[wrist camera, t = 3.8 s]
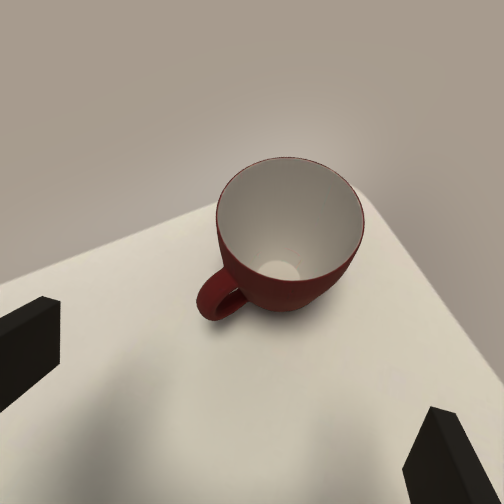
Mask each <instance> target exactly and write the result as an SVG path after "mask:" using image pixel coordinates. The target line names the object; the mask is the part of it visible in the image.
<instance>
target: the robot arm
mask: <svg viewBox="0 0 504 504" xmlns="http://www.w3.org/2000/svg"><path fill="white" fill-rule="evenodd" d="M60 303H61V301H58V300H54V299H51V298H47V297H44V296H41V297H39V298H37V299H35V300H33V301H31V302H30V303H28V304H26V305H24V306H22V307H20V308H18V309H16V310H14V311H13V312H11V313H9V314H7V315H5V316H3V317H1V318H0V413H1V412H2V411H3V410H4V409H6V408H7V407H8V406H9V405H10V404H12V403H13V402H14V401H15V400H17V399H18V398H19V397H20V396H21V395H23V394H24V393H25V392H26V391H27V390H29V389H30V388H31V387H32V386H33V385H35V384H36V383H37V382H38V381H40V380H41V379H42V378H43V377H44V376H46V375H47V374H48V373H49V372H50V371H52V370H53V369H54V368H55V367H56V366H58V365H59V364H60ZM402 471H403V475H404V479H405V483H406V487H407V491H408V495H409V498H410V502H411V504H501V502H500V500H499V498H498V496H497V494H496V492H495V490H494V488H493V486H492V484H491V482H490V480H489V478H488V476H487V474H486V472H485V470H484V468H483V467H482V465H481V463H480V461H479V459H478V457H477V455H476V453H475V451H474V449H473V447H472V445H471V443H470V441H469V439H468V437H467V435H466V433H465V431H464V429H463V427H462V425H461V423H460V421H459V419H458V417H457V415H456V413H453V412H449V411H445V410H442V409H438V408H435V407H431V406H430V408H429V411H428V413H427V415H426V417H425V420H424V422H423V424H422V426H421V428H420V431H419V433H418V435H417V437H416V440H415V442H414V444H413V446H412V448H411V451H410V453H409V455H408V457H407V460H406V462H405V464H404V466H403V468H402Z"/></svg>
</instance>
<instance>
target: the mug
mask: <svg viewBox="0 0 504 504" xmlns="http://www.w3.org/2000/svg"><path fill="white" fill-rule="evenodd" d="M364 225H365V221H364V213H363V208H362V205H361V202H360V200H359V198H358V196H357V194H356V193H355V191H354V190H353V188H352V187H351V186H350V185H349V183H348V182H347V181H346V180H345V179H343V178H342V177H341V176H340V175H339V174H337V173H336V172H334V171H333V170H331V169H330V168H328V167H326V166H324V165H322V164H319V163H317V162H314V161H311V160H307V159H302V158H295V157H279V158H272V159H267V160H263V161H260V162H257V163H255V164H252V165H250V166H248V167H246V168H245V169H243V170H242V171H240V172H239V173H238V174H236V175H235V176H234V177H233V178H232V179H231V180H230V181H229V182H228V184H227V185H226V187H225V188H224V190H223V191H222V193H221V195H220V198H219V200H218V204H217V209H216V227H217V235H218V241H219V247H220V251H221V255H222V259H223V264H224V267H223V268H222V269H221V270H219V271H218V272H216V273H215V274H214V275H213V276H211V277H210V278H209V279H208V280H207V281H206V282H205V284H204V285H203V286H202V288H201V289H200V291H199V293H198V296H197V299H196V303H197V308H198V310H199V312H200V313H201V314H202V316H203V317H205V318H206V319H208V320H211V321H218V320H221V319H223V318H225V317H227V316H229V315H231V314H232V313H234V312H235V311H236V310H238V309H239V308H240V307H242V306H243V305H244V304H246V303H247V302H251V303H253V304H255V305H257V306H259V307H262V308H264V309H267V310H270V311H275V312H287V311H293V310H296V309H299V308H302V307H304V306H305V305H307V304H309V303H310V302H312V301H313V300H314V299H316V298H317V297H319V296H320V295H321V294H323V293H324V292H325V291H327V290H328V289H329V288H330V287H332V286H333V285H334V284H335V283H336V282H337V281H338V280H339V279H340V278H341V276H342V275H343V274H344V272H345V271H346V270H347V268H348V266H349V265H350V263H351V261H352V260H353V258H354V256H355V254H356V252H357V250H358V248H359V246H360V244H361V241H362V237H363V234H364ZM236 288H238V289H237V290H235V289H236ZM233 290H235V291H234V292H232V291H233ZM231 292H232V293H231ZM229 293H230V294H229Z"/></svg>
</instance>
